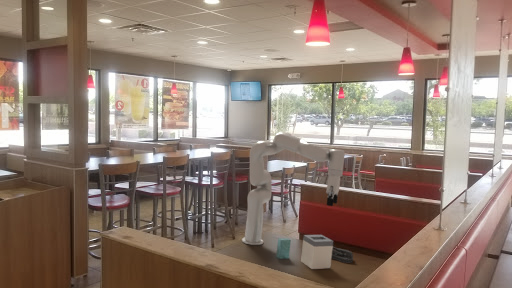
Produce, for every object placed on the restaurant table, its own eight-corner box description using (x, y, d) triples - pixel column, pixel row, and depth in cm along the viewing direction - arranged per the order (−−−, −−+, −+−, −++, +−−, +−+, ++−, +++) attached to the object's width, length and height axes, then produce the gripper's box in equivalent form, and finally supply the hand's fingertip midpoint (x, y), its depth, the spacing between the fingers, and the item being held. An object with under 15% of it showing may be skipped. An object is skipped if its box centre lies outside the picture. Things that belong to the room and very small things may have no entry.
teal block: (276, 256, 211) (278, 238, 211) (286, 256, 214) (288, 238, 213) (278, 258, 209) (280, 240, 208) (288, 258, 211) (290, 239, 211)
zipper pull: (314, 237, 233) (356, 248, 219) (313, 248, 233) (354, 260, 220) (308, 240, 225) (350, 252, 212) (306, 252, 226) (349, 264, 212)
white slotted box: (300, 261, 208) (303, 235, 208) (318, 260, 213) (321, 234, 212) (311, 269, 198) (314, 241, 198) (330, 268, 203) (333, 241, 202)
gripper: (332, 170, 221) (328, 200, 221) (324, 172, 205) (320, 205, 206) (345, 172, 218) (342, 203, 218) (338, 174, 202) (335, 208, 203)
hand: (331, 204), depth 212 cm, fingers open, 9 cm apart
